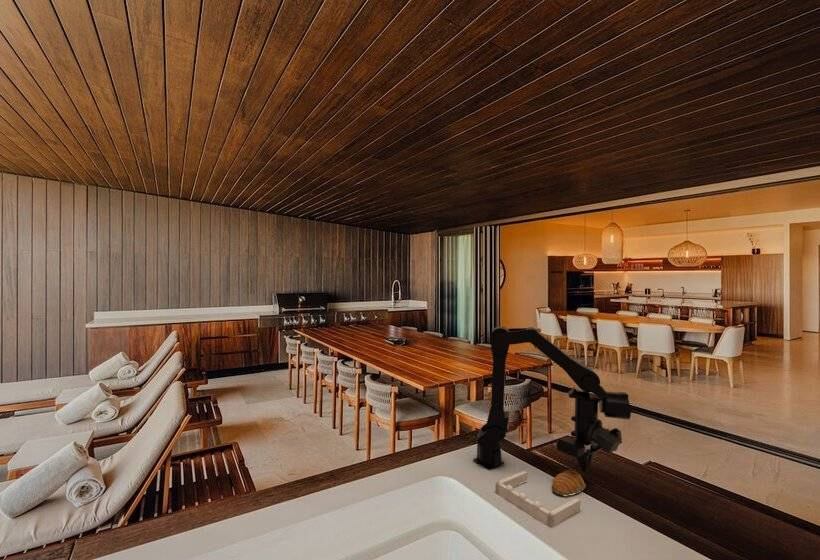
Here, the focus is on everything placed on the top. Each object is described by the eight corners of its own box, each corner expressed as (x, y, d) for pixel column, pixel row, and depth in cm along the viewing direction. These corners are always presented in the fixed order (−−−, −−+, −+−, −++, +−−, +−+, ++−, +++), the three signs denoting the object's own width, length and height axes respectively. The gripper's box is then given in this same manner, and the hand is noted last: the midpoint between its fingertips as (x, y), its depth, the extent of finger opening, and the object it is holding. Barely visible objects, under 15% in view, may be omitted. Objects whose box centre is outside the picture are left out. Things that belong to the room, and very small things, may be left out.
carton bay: (494, 492, 94) (494, 479, 94) (524, 480, 101) (524, 467, 101) (550, 528, 81) (550, 512, 81) (580, 510, 88) (580, 496, 88)
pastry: (569, 503, 91) (570, 487, 91) (544, 491, 96) (544, 476, 96) (587, 489, 97) (587, 474, 97) (562, 479, 102) (562, 464, 103)
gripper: (596, 431, 91) (594, 496, 91) (633, 417, 102) (632, 475, 102) (555, 417, 100) (554, 476, 100) (593, 405, 111) (592, 458, 111)
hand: (584, 471), depth 103 cm, fingers closed
